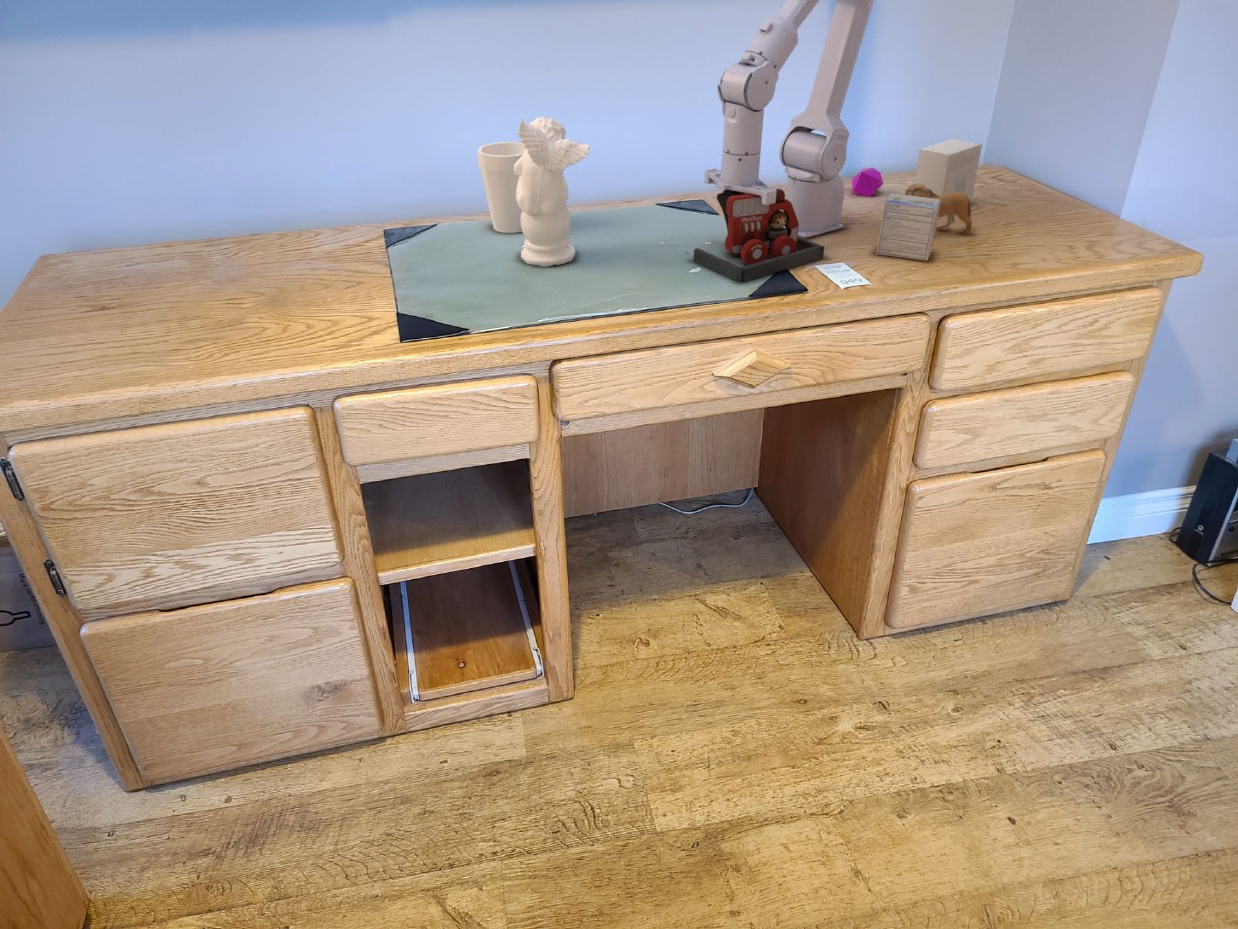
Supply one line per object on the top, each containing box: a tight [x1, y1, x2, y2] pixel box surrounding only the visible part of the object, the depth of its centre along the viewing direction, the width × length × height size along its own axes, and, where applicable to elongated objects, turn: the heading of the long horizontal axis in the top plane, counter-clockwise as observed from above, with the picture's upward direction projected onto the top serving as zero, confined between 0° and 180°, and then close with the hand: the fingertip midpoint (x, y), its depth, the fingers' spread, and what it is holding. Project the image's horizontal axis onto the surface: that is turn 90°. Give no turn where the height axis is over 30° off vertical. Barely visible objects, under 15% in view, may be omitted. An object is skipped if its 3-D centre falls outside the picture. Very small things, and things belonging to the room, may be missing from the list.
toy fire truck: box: [724, 188, 799, 266], centre depth 138 cm, size 7×12×10 cm, turn 111°
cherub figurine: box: [514, 116, 591, 267], centre depth 134 cm, size 12×12×22 cm
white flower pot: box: [477, 141, 527, 234], centre depth 150 cm, size 10×9×13 cm
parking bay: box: [693, 236, 825, 284], centre depth 139 cm, size 17×11×2 cm, turn 125°
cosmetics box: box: [914, 138, 983, 204], centre depth 159 cm, size 10×6×10 cm, turn 131°
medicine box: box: [876, 193, 941, 262], centre depth 139 cm, size 8×4×9 cm, turn 65°
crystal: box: [850, 167, 884, 197], centre depth 168 cm, size 5×5×5 cm
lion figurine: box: [903, 183, 973, 235], centre depth 147 cm, size 15×5×9 cm, turn 113°
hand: (735, 238), depth 142 cm, fingers closed
